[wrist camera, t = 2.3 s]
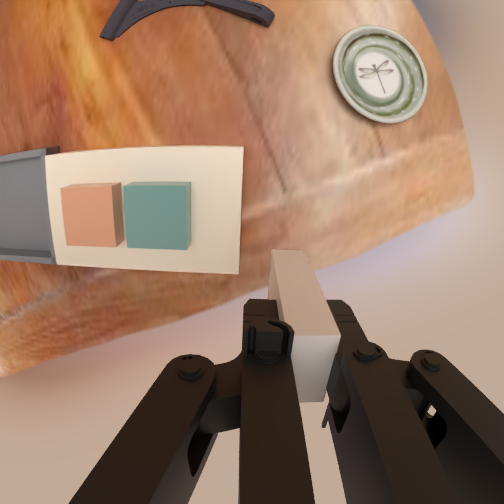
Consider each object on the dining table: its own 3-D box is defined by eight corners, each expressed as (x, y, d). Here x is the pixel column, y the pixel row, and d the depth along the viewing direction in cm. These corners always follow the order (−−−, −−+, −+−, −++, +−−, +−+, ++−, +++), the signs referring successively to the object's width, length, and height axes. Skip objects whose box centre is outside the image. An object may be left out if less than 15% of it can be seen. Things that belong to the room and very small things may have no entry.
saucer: (362, 141, 27) (372, 142, 25) (306, 55, 24) (311, 49, 22) (431, 99, 25) (444, 97, 23) (381, 19, 22) (391, 12, 20)
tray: (-10, 251, 30) (-21, 258, 27) (-21, 160, 25) (-34, 163, 23) (68, 255, 30) (57, 264, 28) (59, 146, 26) (45, 148, 24)
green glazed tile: (135, 239, 26) (127, 247, 24) (132, 181, 24) (123, 185, 22) (191, 241, 26) (187, 250, 24) (191, 181, 24) (186, 185, 22)
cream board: (75, 250, 30) (56, 264, 26) (66, 151, 26) (45, 155, 22) (239, 256, 31) (238, 274, 27) (243, 145, 27) (243, 147, 23)
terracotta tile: (77, 238, 25) (66, 245, 23) (71, 184, 24) (60, 188, 22) (124, 239, 25) (116, 247, 24) (121, 182, 24) (111, 186, 22)
